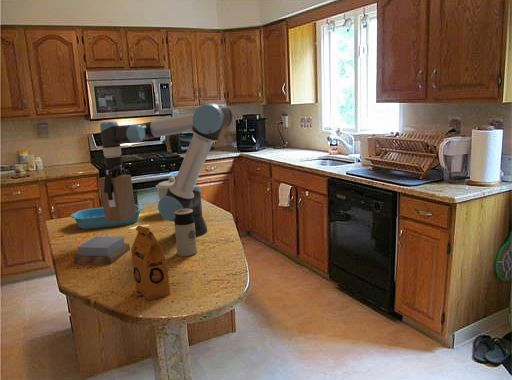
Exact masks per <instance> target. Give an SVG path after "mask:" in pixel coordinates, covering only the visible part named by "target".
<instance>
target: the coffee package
mask: <svg viewBox="0 0 512 380" xmlns="http://www.w3.org/2000/svg"><path fill="white" fill-rule="evenodd" d="M135 230H136V231H137V234H136V237H135V239H134V241H133V242H132V246H131V248H130V251H131V260H132V269H133V272H132V278H133V280H134V284H135V290H137V291H138V292H139V293H140V294H141V295H142V296H144V298H147V300H149V301H153V300H155V299H160V298H164V297H167V296H169V295H171V291H170V282H169V270H168V265H167V261H166V257H165V254H164V251H163V249H162V246H161V245H160V243H159V242H158V240H157V238H156V237H155V235H154V233H153V232H152V231H151V229H150V228H149V227H146V226H143V225H140V224H139V225H137V226H136V228H135Z"/></svg>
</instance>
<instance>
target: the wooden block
mask: <svg viewBox="0 0 512 380" xmlns="http://www.w3.org/2000/svg"><path fill="white" fill-rule="evenodd" d="M98 181H99V188H100V195H101V201H102V207H103V209H104V215H105V221H112V222H123V221H126V220H129V219H131V218H134V217H136V211H135V205H136V204H135V197H134V190H133V183H132V182H133V181H132V175H131V174H126V175H119V176H117V177H116V178H111V183H112V184H113V192H114V195H115V203H116V207H109V200H108V193H105V192H104V184H105V176H104V177H100V178H99V179H98Z"/></svg>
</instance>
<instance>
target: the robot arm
mask: <svg viewBox="0 0 512 380" xmlns="http://www.w3.org/2000/svg"><path fill="white" fill-rule="evenodd" d="M233 117H234V116H233V112H232V109H231V107H229V106H228V105H227V104H225V103H223V102H206V103H204V104H201V105H200V106H198V107H197V108H196V109H195V111H194V112H193V113H187V114H183V115H182V114H181V115H178V116H172V117H167V118H162V119H157V120H153V121H148V122H143V123H136V124H135V123H133V124H125V125H124V124H123V125H119V124H118V122H117V121H115V120H114V121H113V120H112V121H102V122H100V124H99V128H100V129H99V130H100V132H99V133H100V138H101V142H102V151H103V157H104V165H105V166H106V167H108V169H105V170H104V177H105V184H104V192H105V193H108V200H109V207H116V203H115V195H114V192H113V184H112V183H111V178H116V177H117V176H119V175H127V174H126V173H127V172H126V170H125V166H124V163H123V156H122V147H121V144H122V143H134V144H135V143H138V142H139V143H140V142H142V141H145V140H151V139H155V138H161V137H167V136H171V135H172V136H173V135H176V134H177V135H178V134H181V133H182V134H183V133H187V132H192V135H193V136H192V138H191V139H190V140H191V141H190V142H189V145H188V147H187V150H186V152H185V155H184V158H183V160H182V162H181V166H180V167H179V170H178V172H177V175H176V177H175V182H174V184H172V185H170V186H169V187H168V190H167V192H166V195H165V196H164V197H162V198H161V199H160V198H159V201H158V204H157V210H158V212H159V214H160V216H161V217H162V218H163V219H164V220H166V221H169V222H174V219H175V217H176V216H175V213H174V212H175V211H176V210H179V209H192V210H193V212H192V215H193V217H194V223H195V234H196V237H199V236H201V235H204V234H206V233H207V232H208V225H207V223H206V221H205V219H204V217H203V216H204V215H203V207H202V194H201V193H202V191H201V187H200V185H199V184H198V185H197V184H196V183H197V182H198V179H199V177H200V174H201V172H202V169H203V167H204V164H205V162H206V160H207V158H208V155H209V153H210V150H211V148H212V145H213V143H215V142H218V141H219V139H220V136H221V133H222V132H223V131H224V130H227V129H228V128H229V127H230V126H231V125H232V122H233Z"/></svg>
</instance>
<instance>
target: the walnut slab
mask: <svg viewBox="0 0 512 380" xmlns="http://www.w3.org/2000/svg"><path fill="white" fill-rule="evenodd" d="M124 244H125V245H124V246H123V247H121V248H120V249H118V250H117V251H115V252H114V253H112V254H111V255H109V256H80V255H79V253H78V254H76V255H74V256H73V261H74V264H78V265H79V264H80V265H81V264H82V265H86V264H87V265H92V264H95V265H96V264H97V265H113V264H114V263H116V261H118V260H119V259H120V258H122V257H123V256H125V254H126V253H128V252H130V251H131V248H130V243H124Z"/></svg>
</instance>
